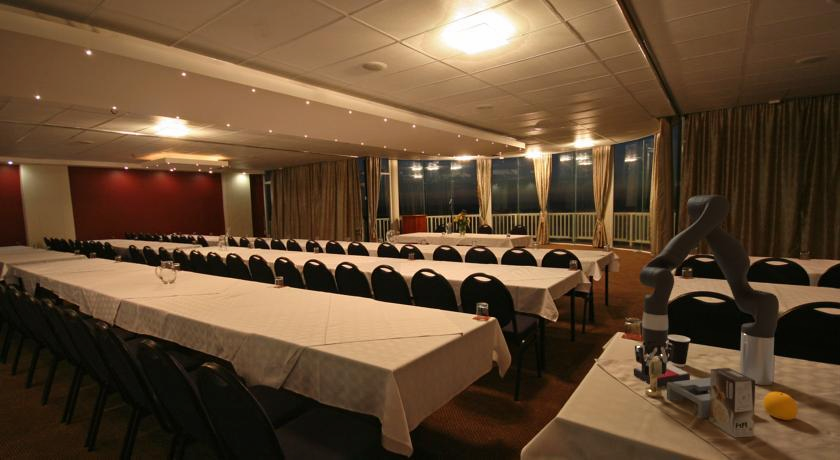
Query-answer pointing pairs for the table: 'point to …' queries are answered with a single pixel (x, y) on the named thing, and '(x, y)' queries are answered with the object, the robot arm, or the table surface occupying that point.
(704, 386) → the keyhole plate
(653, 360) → the peg
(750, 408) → the coffee box
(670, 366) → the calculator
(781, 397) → the orange
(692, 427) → the table surface
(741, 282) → the robot arm
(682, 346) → the dixie cup
